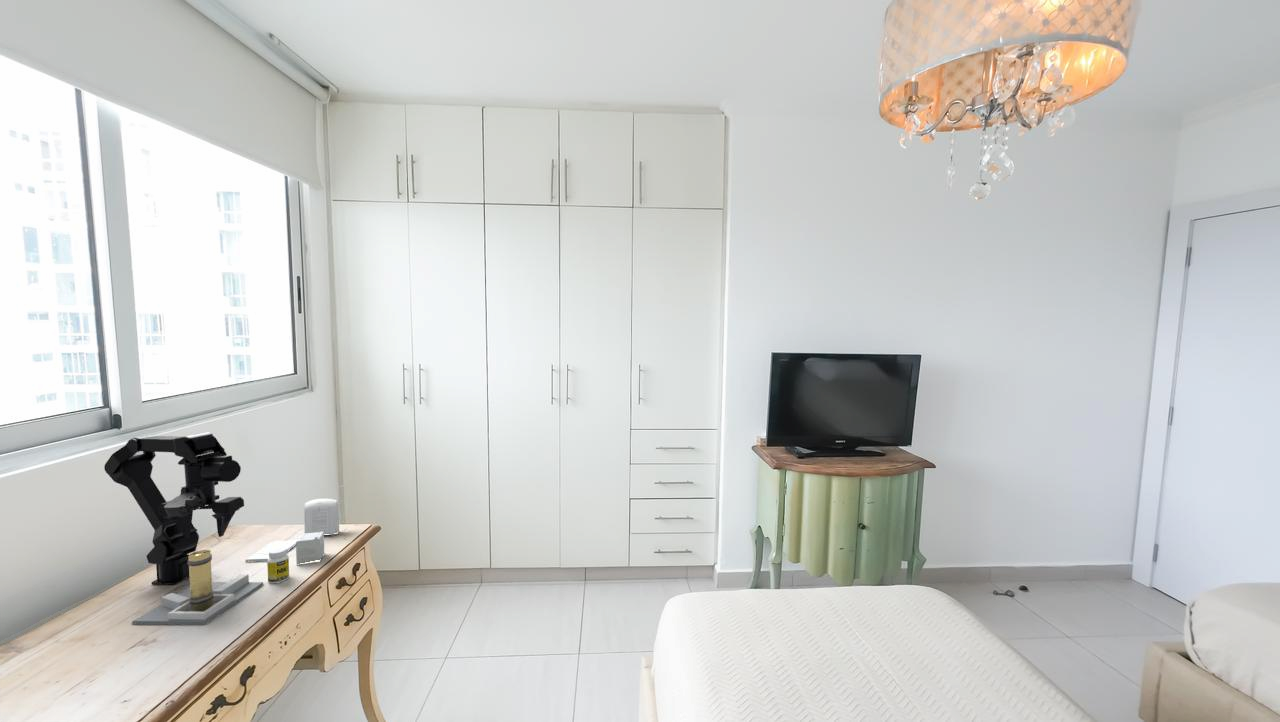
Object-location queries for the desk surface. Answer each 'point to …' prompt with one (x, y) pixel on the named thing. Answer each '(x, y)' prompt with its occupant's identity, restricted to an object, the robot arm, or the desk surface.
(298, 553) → the skincare box
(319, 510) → the photo printer
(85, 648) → the desk surface
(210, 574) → the disc
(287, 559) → the supplement bottle
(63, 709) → the desk surface
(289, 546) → the external hard drive
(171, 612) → the coupling station
